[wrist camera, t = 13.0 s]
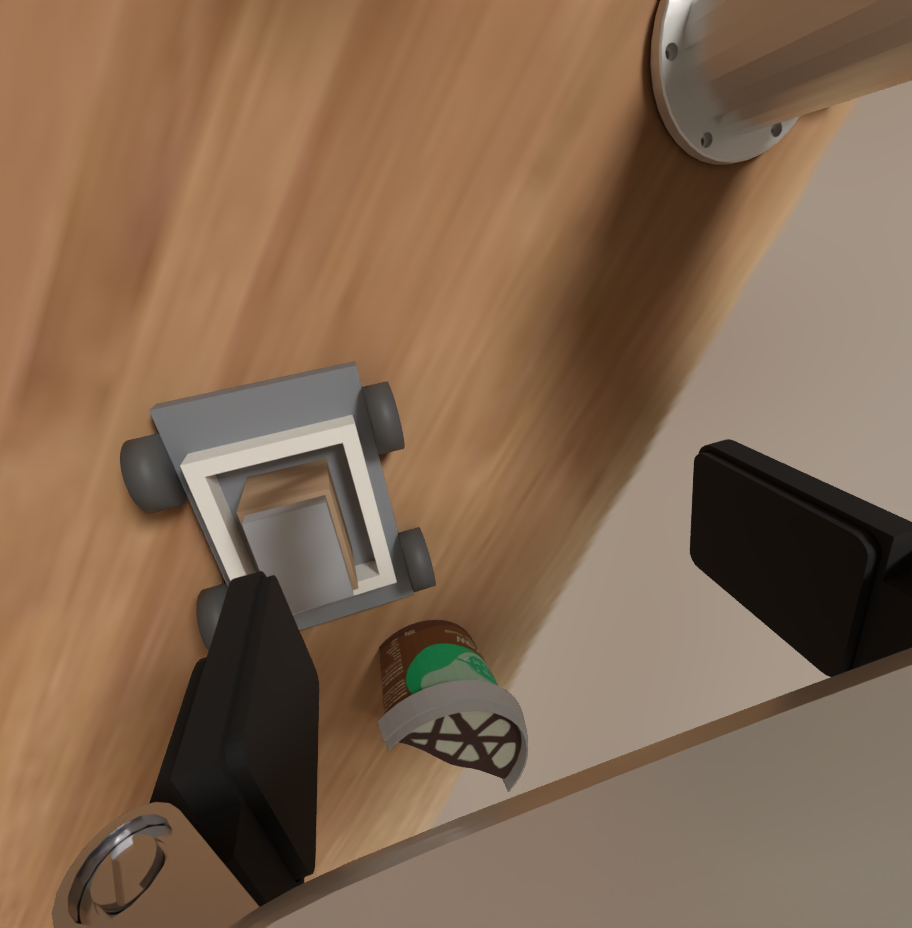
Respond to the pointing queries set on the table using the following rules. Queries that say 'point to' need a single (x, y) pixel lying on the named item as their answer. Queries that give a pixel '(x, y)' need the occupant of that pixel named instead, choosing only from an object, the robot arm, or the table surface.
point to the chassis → (276, 447)
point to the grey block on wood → (299, 534)
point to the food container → (450, 701)
